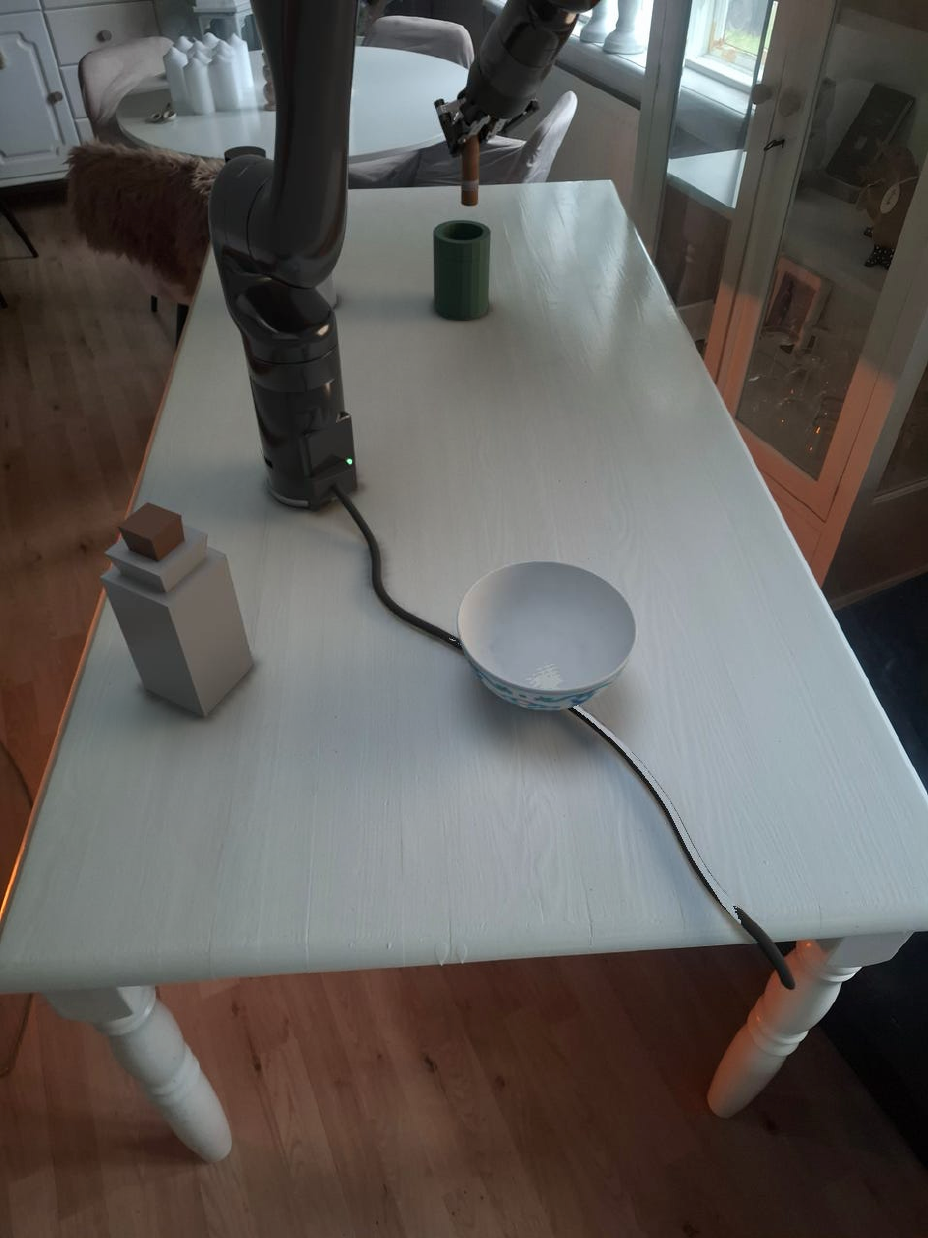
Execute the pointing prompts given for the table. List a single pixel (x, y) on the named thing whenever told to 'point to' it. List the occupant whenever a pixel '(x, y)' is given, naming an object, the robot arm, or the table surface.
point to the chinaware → (546, 632)
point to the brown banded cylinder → (470, 171)
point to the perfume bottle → (177, 609)
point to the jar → (461, 269)
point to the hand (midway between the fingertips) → (462, 148)
